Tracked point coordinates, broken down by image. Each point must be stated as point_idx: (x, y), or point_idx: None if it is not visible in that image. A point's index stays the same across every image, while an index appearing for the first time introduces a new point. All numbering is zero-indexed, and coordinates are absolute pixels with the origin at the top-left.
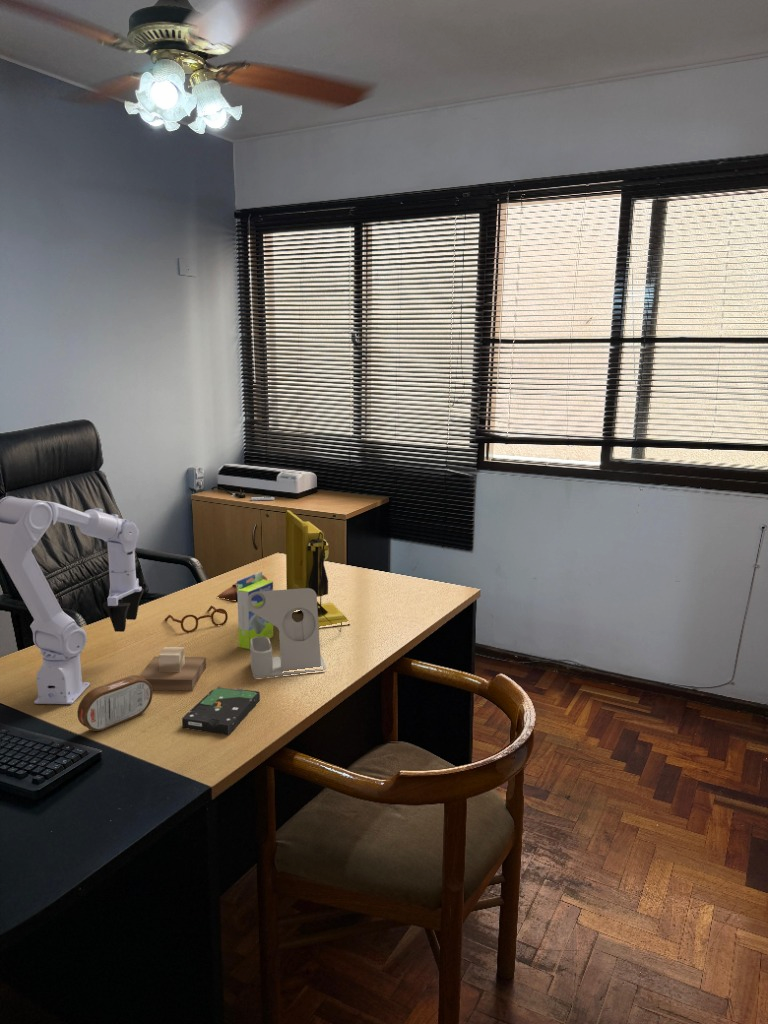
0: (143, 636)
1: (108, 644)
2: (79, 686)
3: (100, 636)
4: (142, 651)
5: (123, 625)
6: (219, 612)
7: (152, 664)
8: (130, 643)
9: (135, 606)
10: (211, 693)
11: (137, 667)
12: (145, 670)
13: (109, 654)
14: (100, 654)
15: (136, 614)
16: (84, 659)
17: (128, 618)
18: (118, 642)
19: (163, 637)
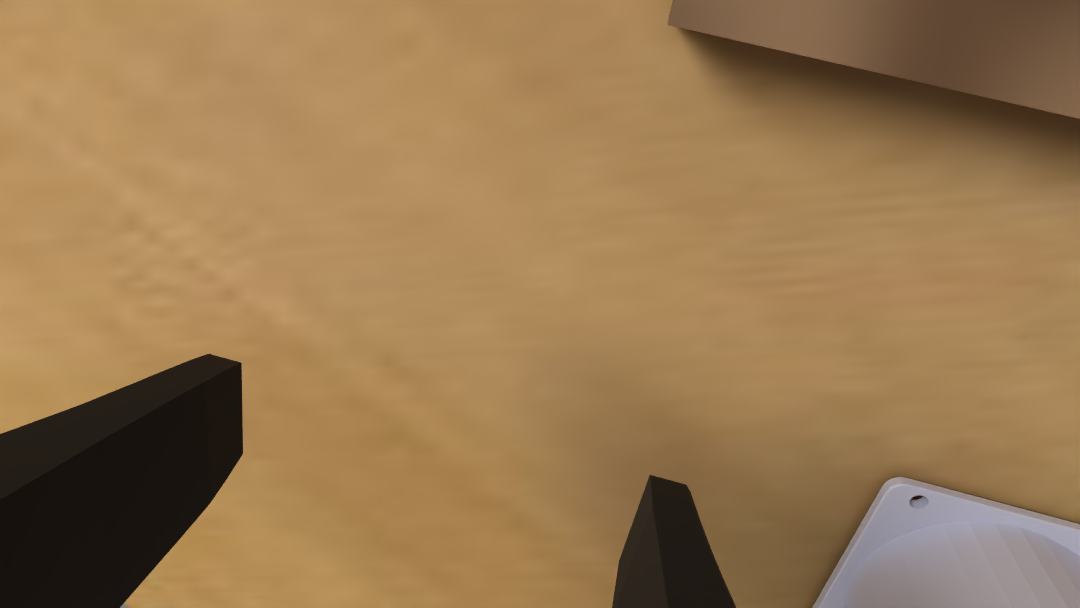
0: (34, 179)
1: None
2: (1055, 562)
3: None
4: (322, 162)
5: (706, 559)
6: None
7: (901, 22)
8: (175, 263)
9: (78, 483)
10: None
11: (651, 174)
12: (1048, 86)
13: (372, 384)
14: (369, 434)
15: (181, 386)
16: (443, 511)
17: (233, 446)
18: (167, 342)
19: (20, 5)
